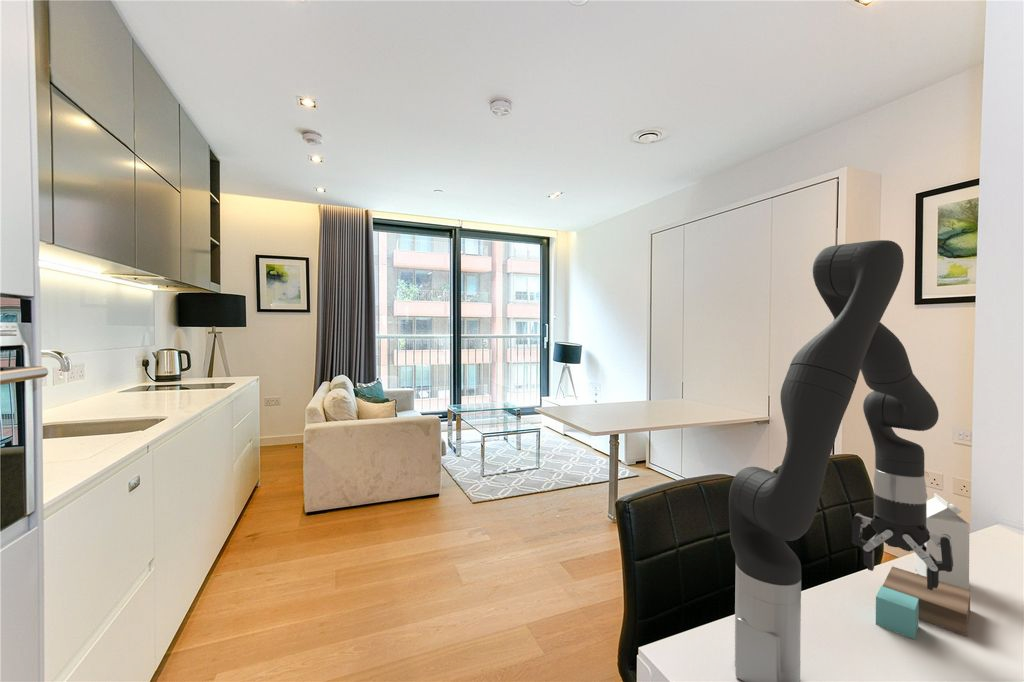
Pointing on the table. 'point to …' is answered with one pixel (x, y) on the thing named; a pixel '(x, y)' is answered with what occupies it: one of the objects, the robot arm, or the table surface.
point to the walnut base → (934, 599)
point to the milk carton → (948, 522)
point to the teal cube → (897, 612)
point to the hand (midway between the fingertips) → (899, 578)
